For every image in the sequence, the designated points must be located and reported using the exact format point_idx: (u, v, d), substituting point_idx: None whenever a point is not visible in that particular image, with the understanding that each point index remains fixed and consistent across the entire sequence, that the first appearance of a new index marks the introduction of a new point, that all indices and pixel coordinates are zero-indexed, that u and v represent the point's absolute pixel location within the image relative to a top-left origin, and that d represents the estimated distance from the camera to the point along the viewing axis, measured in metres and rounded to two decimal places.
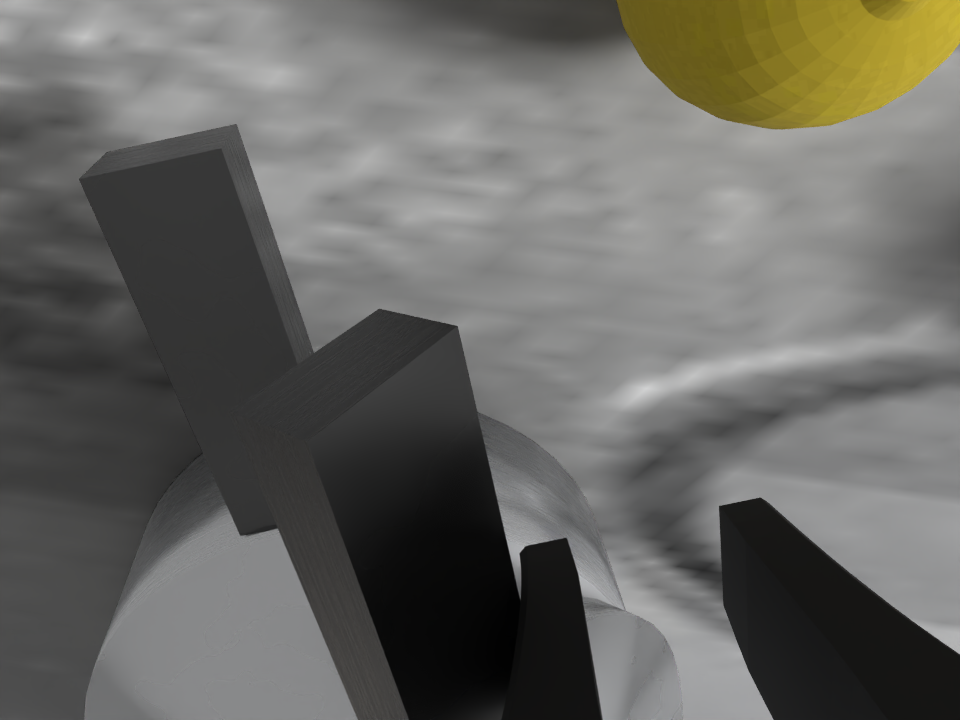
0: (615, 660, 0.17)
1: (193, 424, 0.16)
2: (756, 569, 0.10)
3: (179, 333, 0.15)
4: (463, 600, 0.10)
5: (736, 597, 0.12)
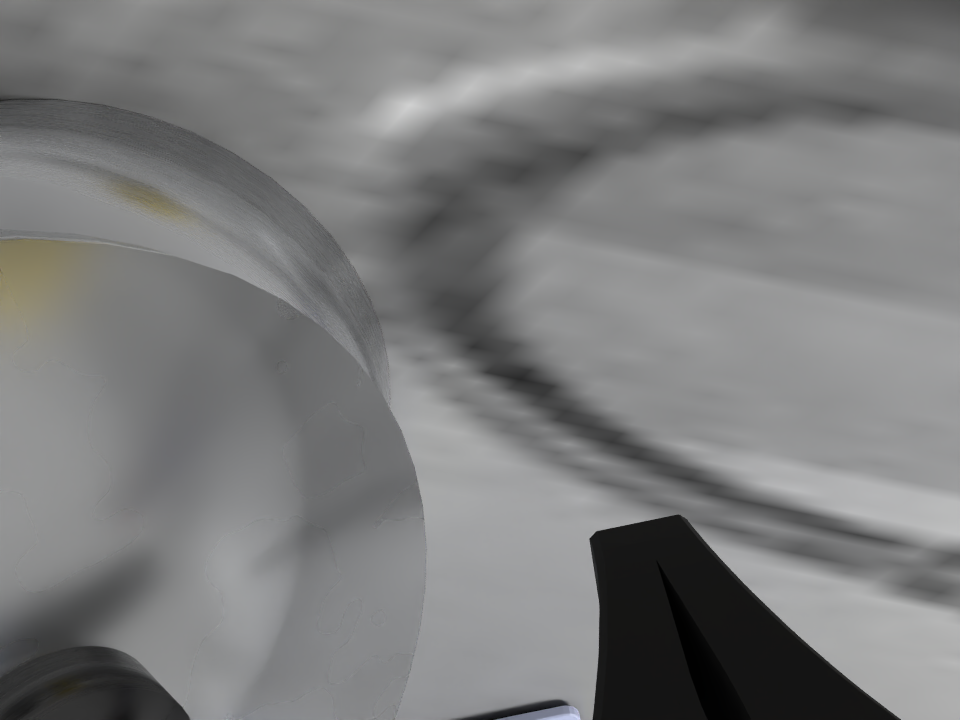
0: (232, 347, 0.12)
1: None
2: (665, 588, 0.10)
3: None
4: None
5: None
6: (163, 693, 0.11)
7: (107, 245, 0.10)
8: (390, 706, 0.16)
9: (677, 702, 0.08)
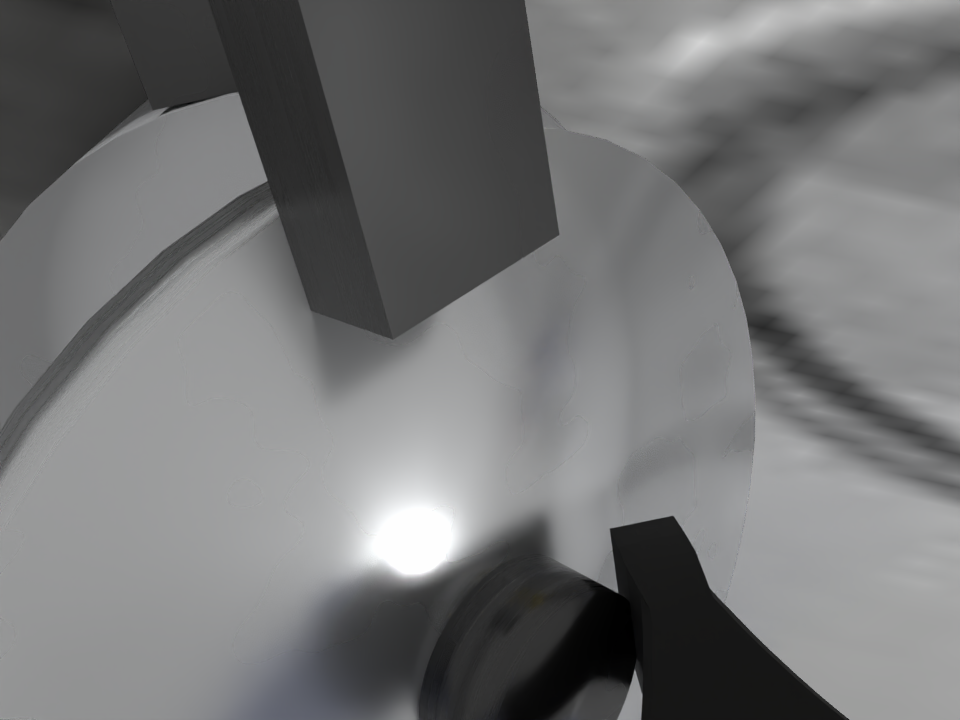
0: (665, 258, 0.12)
1: None
2: (635, 594, 0.10)
3: None
4: None
5: None
6: (626, 599, 0.11)
7: (607, 140, 0.10)
8: None
9: (727, 692, 0.08)
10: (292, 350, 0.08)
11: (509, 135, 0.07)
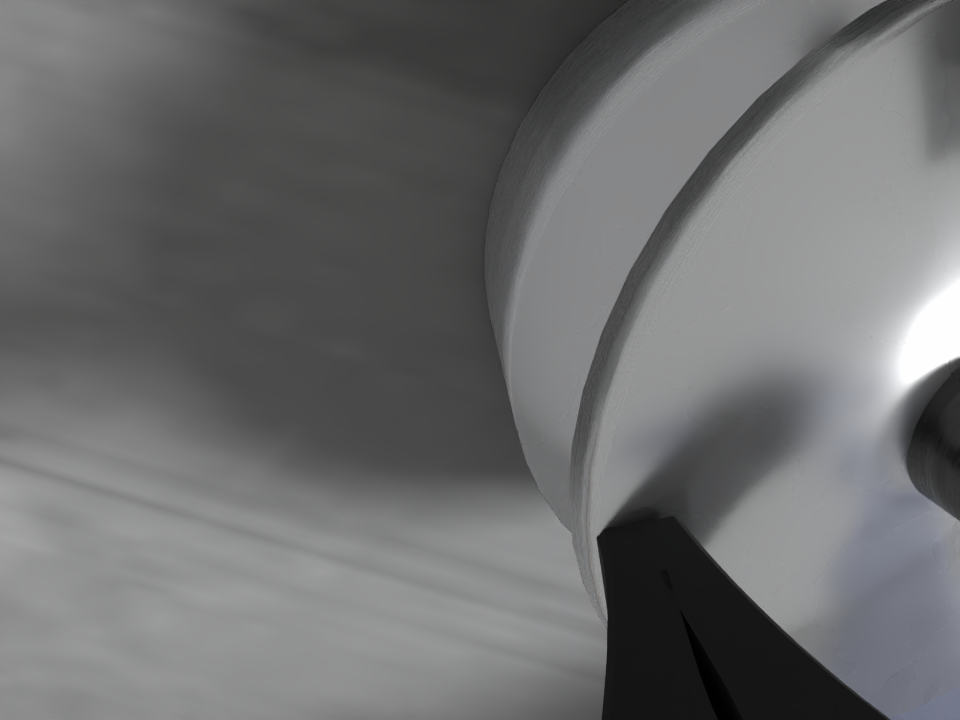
0: None
1: None
2: None
3: None
4: None
5: None
6: None
7: None
8: None
9: (686, 700, 0.08)
10: (949, 93, 0.10)
11: None
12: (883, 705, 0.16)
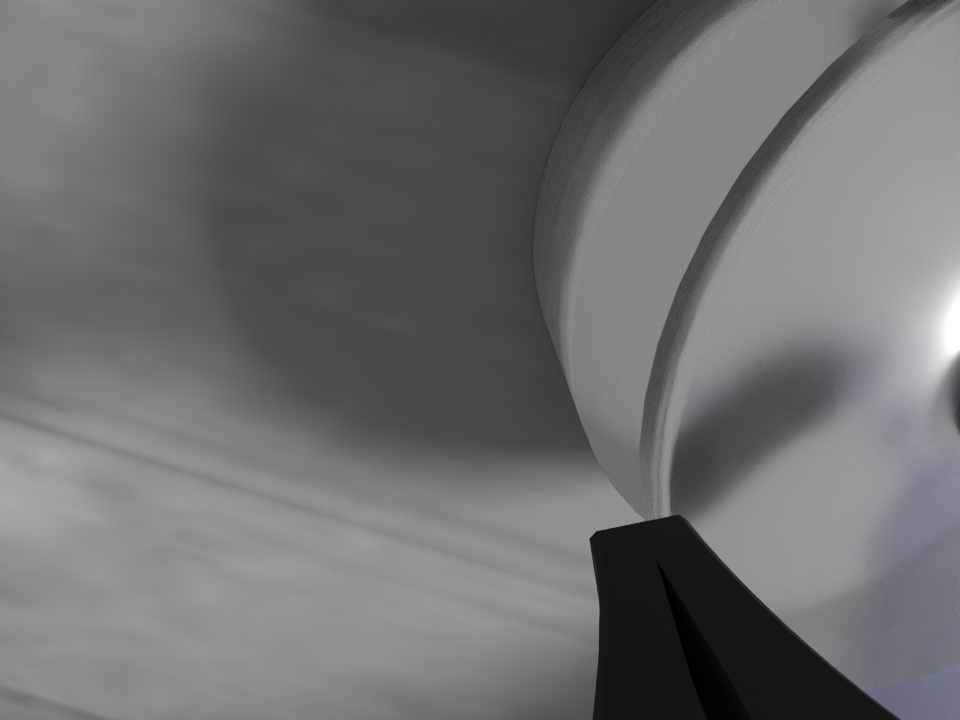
0: None
1: None
2: (665, 588, 0.10)
3: None
4: None
5: None
6: None
7: None
8: None
9: (677, 702, 0.08)
10: None
11: None
12: (925, 660, 0.17)
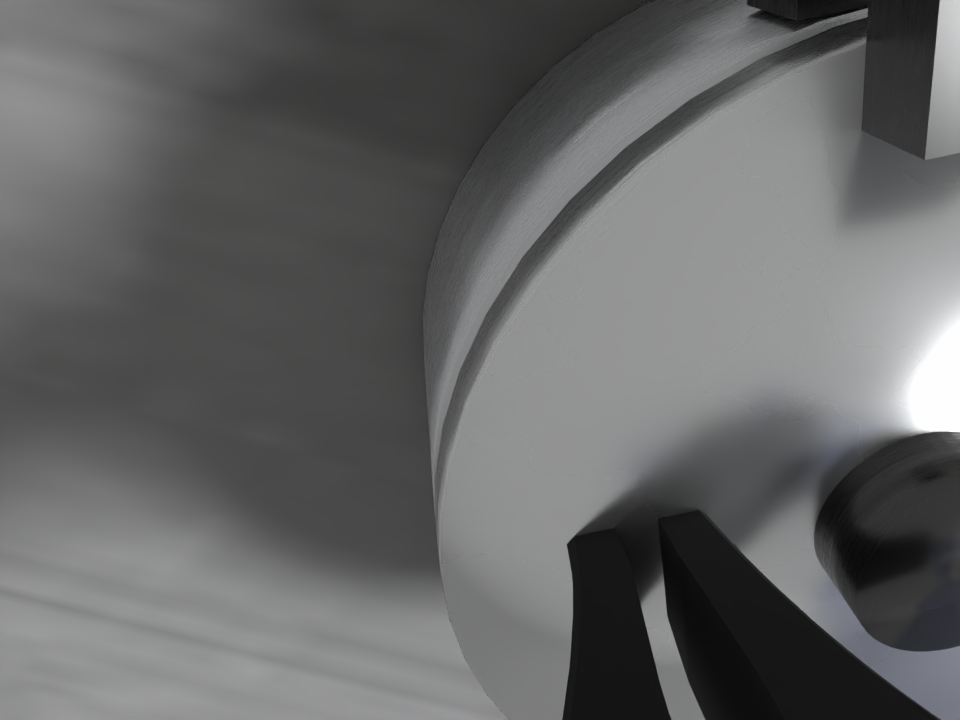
0: None
1: None
2: (688, 583, 0.10)
3: None
4: None
5: (676, 610, 0.12)
6: None
7: None
8: None
9: (645, 708, 0.08)
10: (833, 159, 0.09)
11: None
12: None
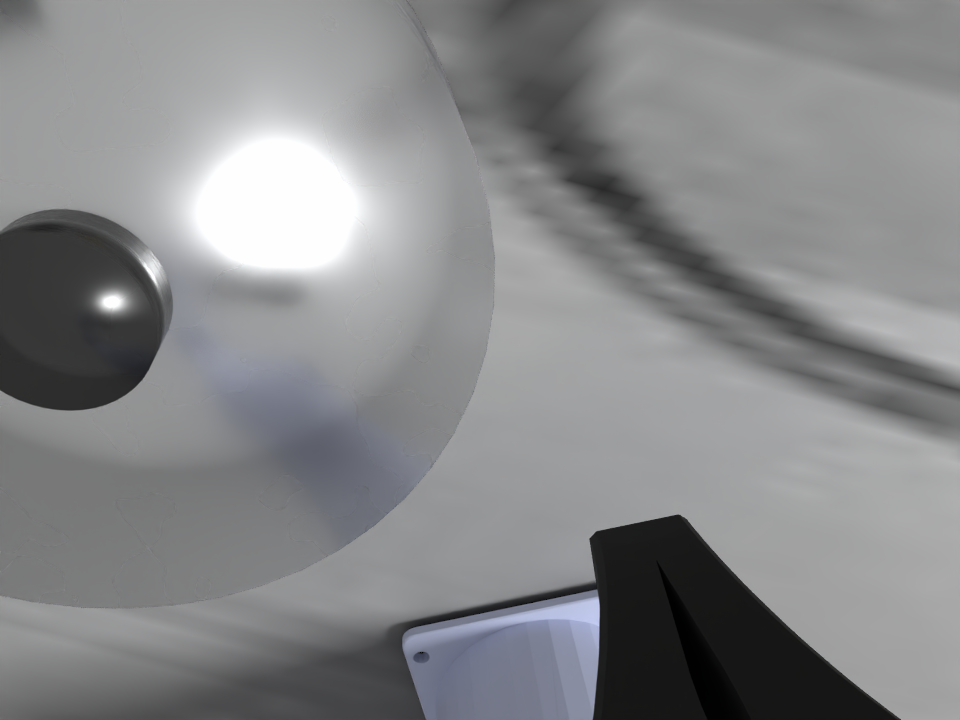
0: None
1: None
2: (665, 588, 0.10)
3: None
4: None
5: None
6: (128, 272, 0.12)
7: None
8: (425, 453, 0.16)
9: (677, 702, 0.08)
10: None
11: None
12: (137, 590, 0.17)
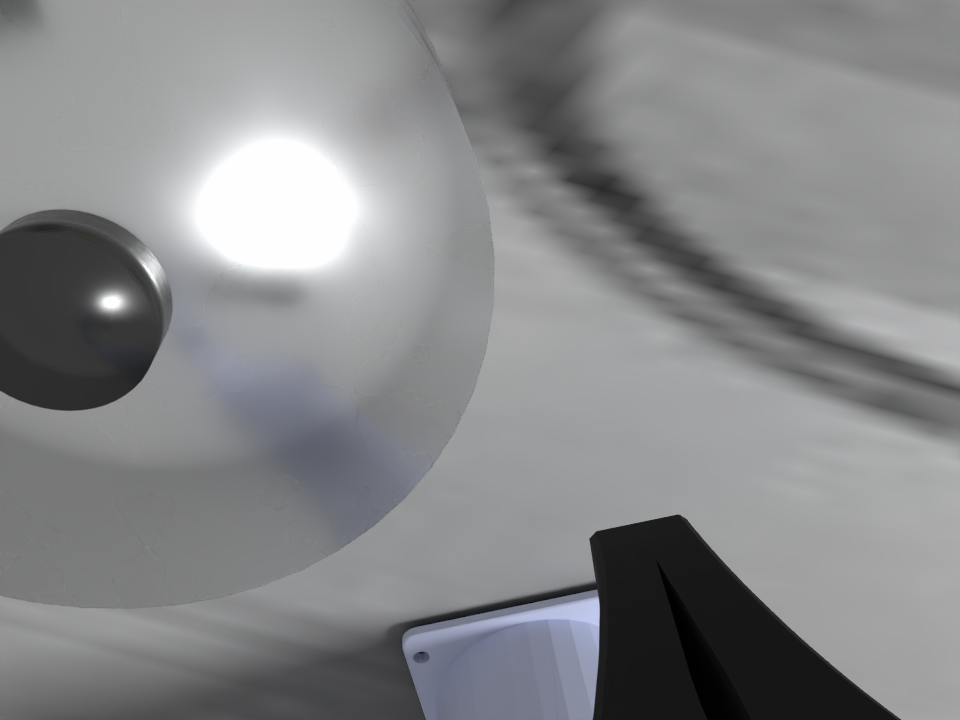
0: None
1: None
2: (666, 588, 0.10)
3: None
4: None
5: None
6: (127, 272, 0.12)
7: None
8: (424, 453, 0.16)
9: (677, 702, 0.08)
10: None
11: None
12: (136, 590, 0.17)
